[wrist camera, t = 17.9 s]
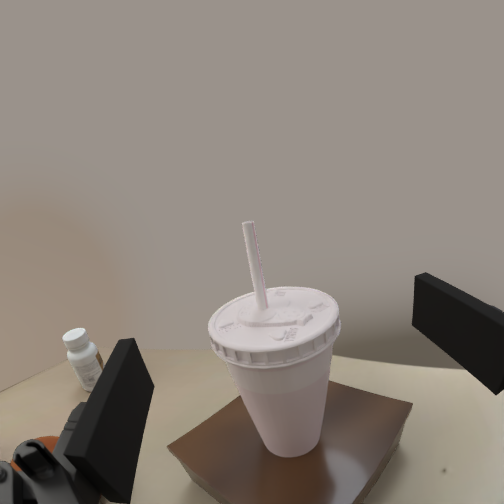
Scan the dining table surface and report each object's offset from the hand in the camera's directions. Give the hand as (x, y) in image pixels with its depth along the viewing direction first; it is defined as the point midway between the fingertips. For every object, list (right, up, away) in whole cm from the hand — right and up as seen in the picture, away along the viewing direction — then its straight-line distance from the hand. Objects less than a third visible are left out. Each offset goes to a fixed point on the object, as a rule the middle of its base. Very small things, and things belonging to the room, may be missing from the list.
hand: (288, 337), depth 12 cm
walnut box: (+2, -13, +5) cm, 14 cm away
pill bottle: (-22, -14, +19) cm, 33 cm away
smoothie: (+1, -9, +4) cm, 10 cm away
